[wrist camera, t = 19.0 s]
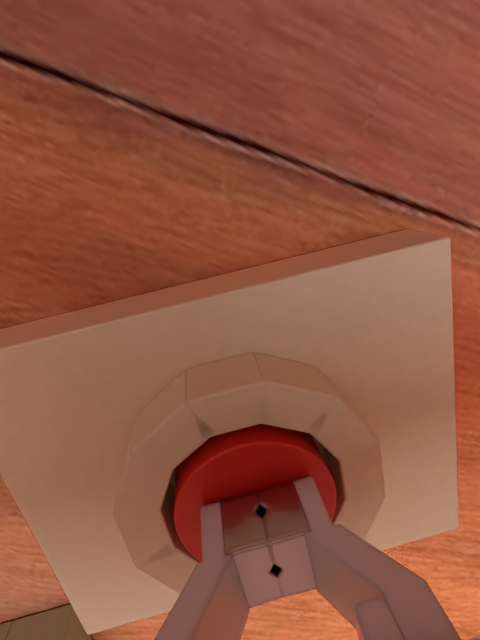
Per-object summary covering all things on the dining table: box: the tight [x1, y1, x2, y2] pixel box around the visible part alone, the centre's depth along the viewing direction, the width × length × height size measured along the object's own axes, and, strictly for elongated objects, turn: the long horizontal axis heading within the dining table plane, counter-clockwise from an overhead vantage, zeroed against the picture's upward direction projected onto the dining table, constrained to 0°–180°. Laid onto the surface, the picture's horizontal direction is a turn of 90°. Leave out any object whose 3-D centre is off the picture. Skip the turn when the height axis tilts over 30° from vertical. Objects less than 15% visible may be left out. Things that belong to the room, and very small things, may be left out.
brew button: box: [174, 424, 337, 562], centre depth 11 cm, size 4×4×2 cm
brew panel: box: [0, 229, 459, 635], centre depth 13 cm, size 14×11×4 cm
